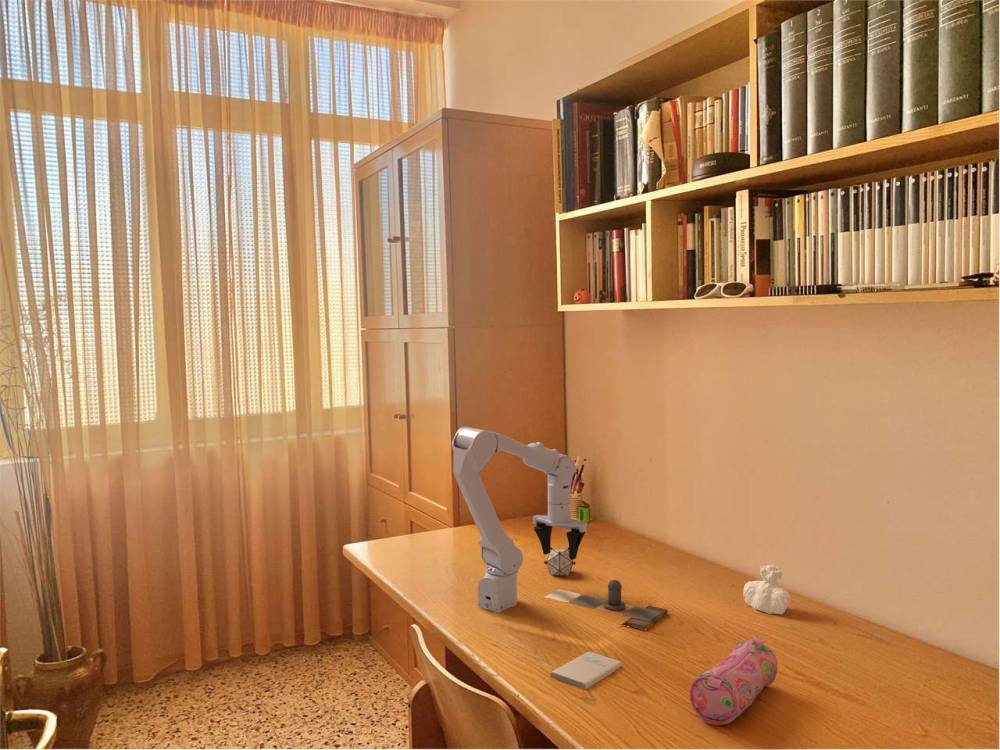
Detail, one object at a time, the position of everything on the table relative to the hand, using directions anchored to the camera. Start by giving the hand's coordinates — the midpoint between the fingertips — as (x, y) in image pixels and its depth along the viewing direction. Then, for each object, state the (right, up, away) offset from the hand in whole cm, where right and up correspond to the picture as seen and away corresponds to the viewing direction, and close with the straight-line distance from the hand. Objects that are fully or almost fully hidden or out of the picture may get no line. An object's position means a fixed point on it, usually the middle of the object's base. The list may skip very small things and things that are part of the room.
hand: (559, 556), depth 197 cm
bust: (+48, -10, -12) cm, 50 cm away
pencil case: (+27, -14, -56) cm, 64 cm away
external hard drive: (+2, -13, -43) cm, 45 cm away
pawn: (+12, -9, -13) cm, 20 cm away
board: (+9, -10, -11) cm, 17 cm away
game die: (+1, -9, +12) cm, 15 cm away
